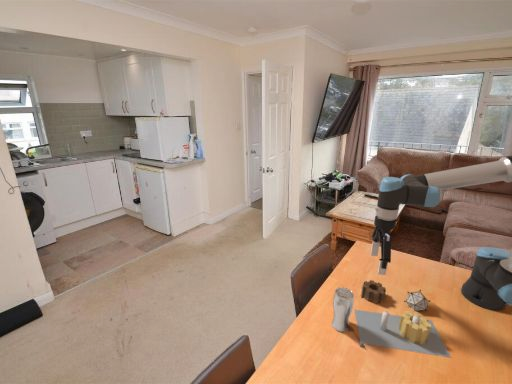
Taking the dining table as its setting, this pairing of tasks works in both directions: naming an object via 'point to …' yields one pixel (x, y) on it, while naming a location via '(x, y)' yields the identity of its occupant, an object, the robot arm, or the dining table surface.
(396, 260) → the dining table surface
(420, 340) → the gear
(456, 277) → the dining table surface
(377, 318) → the gear board
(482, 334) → the dining table surface
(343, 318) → the beer glass
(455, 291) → the dining table surface
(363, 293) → the walnut gear
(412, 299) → the game die
